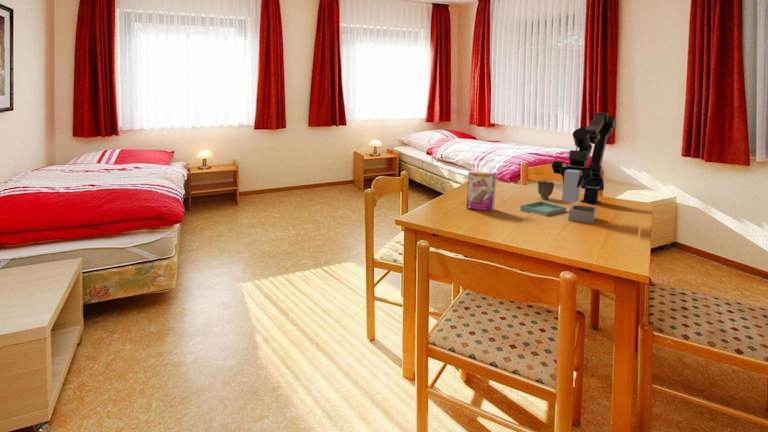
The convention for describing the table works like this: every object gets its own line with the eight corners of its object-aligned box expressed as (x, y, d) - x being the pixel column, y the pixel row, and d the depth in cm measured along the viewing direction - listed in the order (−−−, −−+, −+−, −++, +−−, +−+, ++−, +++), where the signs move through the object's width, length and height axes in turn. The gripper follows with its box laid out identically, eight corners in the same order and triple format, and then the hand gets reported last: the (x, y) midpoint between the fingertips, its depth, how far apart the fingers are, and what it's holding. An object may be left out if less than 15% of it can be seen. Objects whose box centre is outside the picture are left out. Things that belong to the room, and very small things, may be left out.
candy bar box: (466, 209, 203) (467, 172, 198) (469, 206, 207) (470, 170, 203) (491, 211, 198) (494, 174, 194) (494, 209, 203) (496, 172, 198)
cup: (553, 201, 215) (555, 184, 213) (537, 200, 217) (538, 183, 215) (551, 197, 222) (553, 180, 220) (535, 196, 224) (536, 180, 222)
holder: (571, 216, 191) (572, 204, 190) (594, 219, 187) (596, 207, 185) (568, 222, 183) (569, 209, 182) (592, 225, 179) (594, 212, 178)
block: (565, 198, 190) (568, 169, 186) (578, 200, 187) (581, 170, 183) (561, 200, 186) (564, 171, 183) (574, 202, 183) (577, 172, 180)
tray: (540, 206, 207) (540, 201, 206) (565, 212, 196) (566, 207, 196) (520, 210, 200) (520, 205, 199) (545, 217, 190) (546, 212, 189)
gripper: (555, 140, 188) (543, 171, 183) (604, 144, 177) (593, 177, 172) (559, 157, 197) (548, 187, 191) (607, 161, 186) (596, 193, 180)
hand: (570, 186), depth 184 cm, fingers closed on block, 5 cm apart
